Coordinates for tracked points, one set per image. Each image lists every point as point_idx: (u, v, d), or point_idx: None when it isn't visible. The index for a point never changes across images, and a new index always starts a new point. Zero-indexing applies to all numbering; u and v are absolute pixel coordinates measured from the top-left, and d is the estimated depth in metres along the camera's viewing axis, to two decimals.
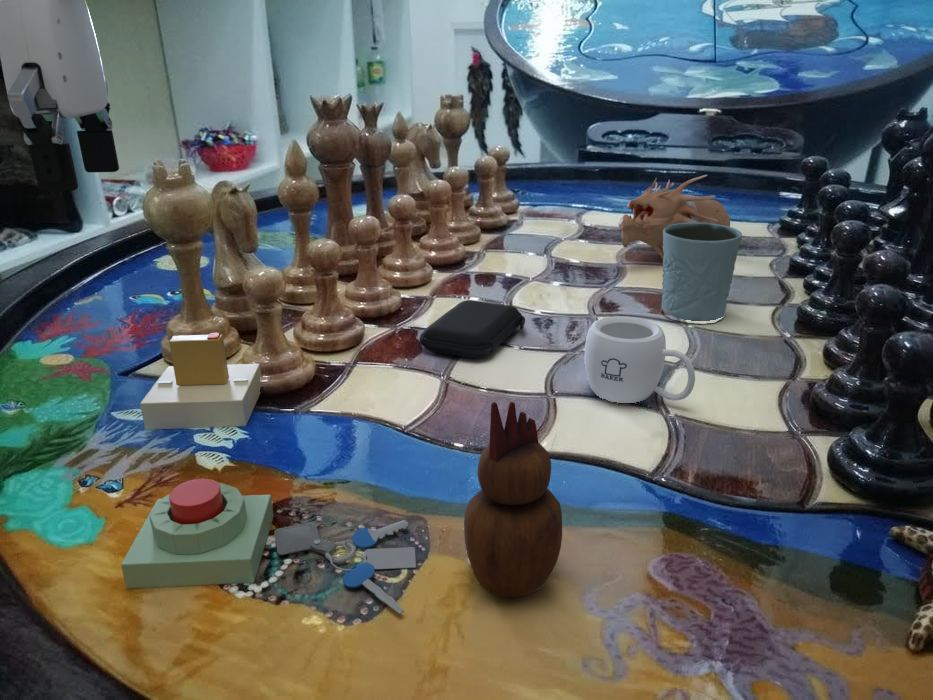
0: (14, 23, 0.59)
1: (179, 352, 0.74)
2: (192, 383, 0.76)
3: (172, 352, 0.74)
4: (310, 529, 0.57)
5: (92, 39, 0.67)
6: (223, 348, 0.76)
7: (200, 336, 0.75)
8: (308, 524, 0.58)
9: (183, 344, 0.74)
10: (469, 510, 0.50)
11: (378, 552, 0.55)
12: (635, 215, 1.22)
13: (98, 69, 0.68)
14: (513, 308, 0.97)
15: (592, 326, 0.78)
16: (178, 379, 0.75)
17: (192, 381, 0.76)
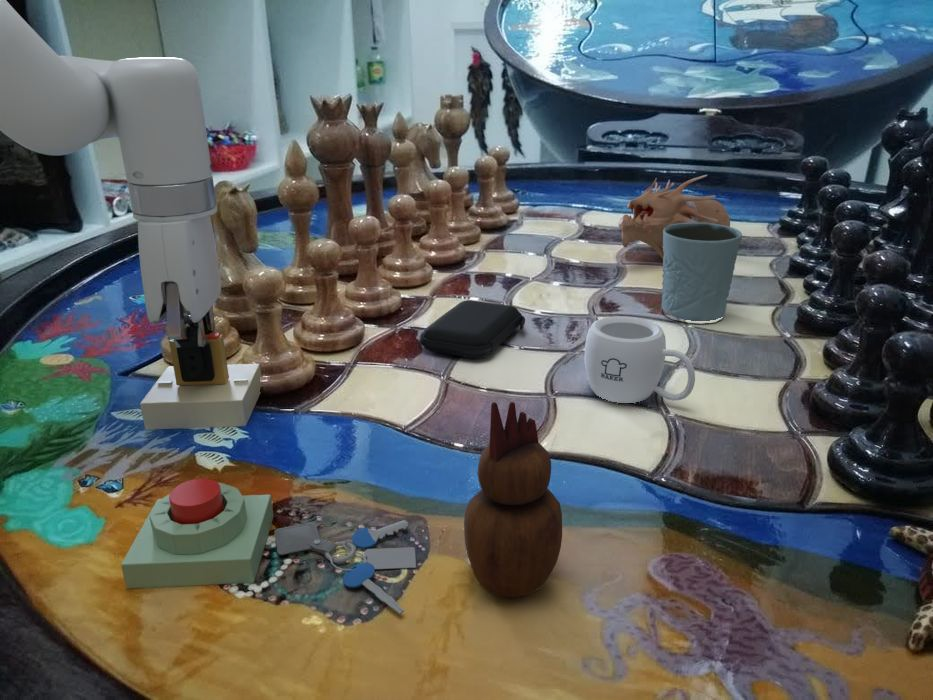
0: (156, 249, 0.66)
1: None
2: (192, 383, 0.76)
3: (172, 352, 0.74)
4: (310, 529, 0.57)
5: (213, 241, 0.74)
6: (223, 348, 0.76)
7: None
8: (308, 524, 0.58)
9: None
10: (469, 510, 0.50)
11: (378, 552, 0.55)
12: (635, 215, 1.22)
13: (216, 265, 0.75)
14: (513, 308, 0.97)
15: (592, 326, 0.78)
16: (178, 379, 0.75)
17: None
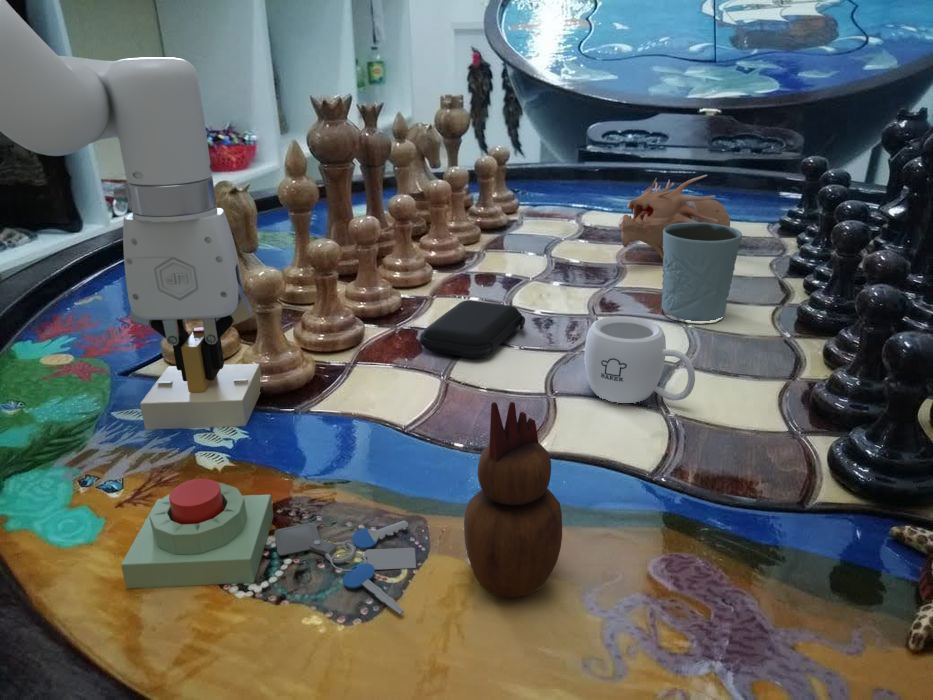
0: (229, 236, 0.70)
1: (201, 355, 0.74)
2: (208, 383, 0.76)
3: (199, 357, 0.73)
4: (310, 530, 0.57)
5: None
6: None
7: (194, 336, 0.75)
8: (308, 525, 0.58)
9: None
10: (469, 510, 0.50)
11: (378, 552, 0.55)
12: (635, 215, 1.22)
13: None
14: (513, 308, 0.97)
15: (592, 326, 0.78)
16: (204, 384, 0.74)
17: (208, 381, 0.76)
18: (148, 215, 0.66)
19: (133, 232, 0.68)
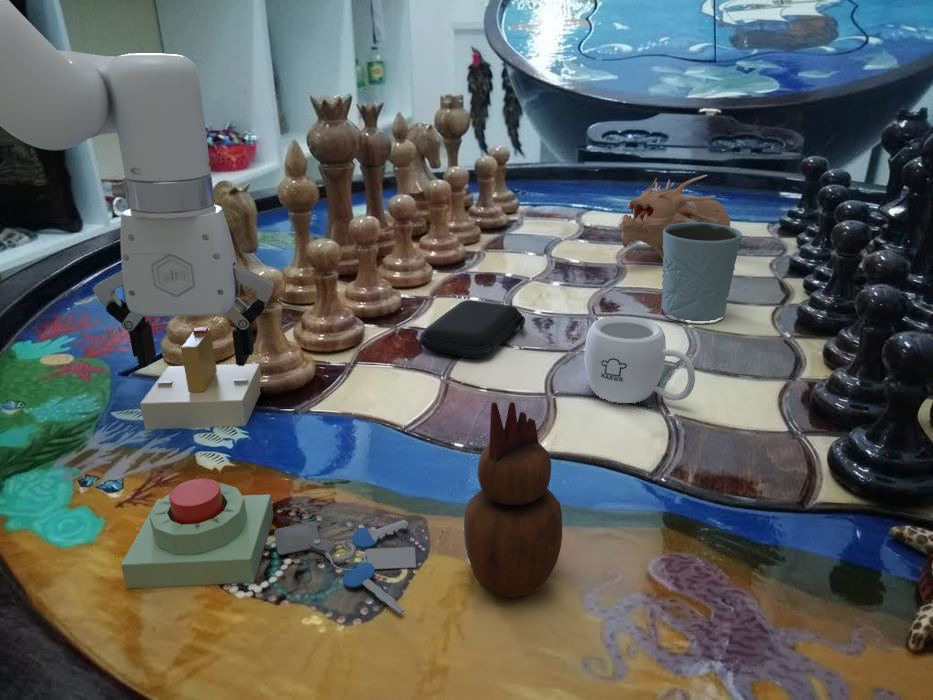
0: (226, 234, 0.70)
1: (201, 355, 0.74)
2: (208, 383, 0.76)
3: (199, 357, 0.73)
4: (310, 529, 0.57)
5: None
6: None
7: (194, 336, 0.75)
8: (308, 524, 0.58)
9: (201, 345, 0.74)
10: (469, 510, 0.50)
11: (378, 551, 0.55)
12: (635, 215, 1.22)
13: None
14: (513, 308, 0.97)
15: (592, 326, 0.78)
16: (204, 384, 0.74)
17: (208, 381, 0.76)
18: (146, 211, 0.66)
19: (130, 228, 0.67)
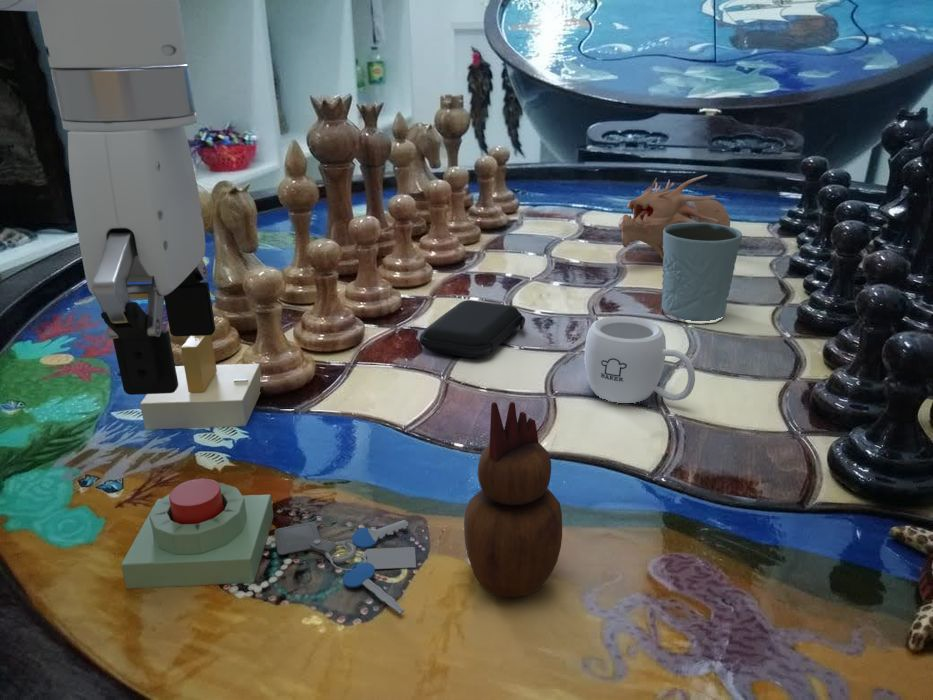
0: (98, 175, 0.41)
1: (201, 355, 0.74)
2: (208, 383, 0.76)
3: (199, 357, 0.73)
4: (310, 529, 0.57)
5: (192, 173, 0.48)
6: None
7: (194, 336, 0.75)
8: (308, 524, 0.58)
9: (201, 345, 0.74)
10: (469, 510, 0.50)
11: (378, 552, 0.55)
12: (635, 215, 1.22)
13: (198, 211, 0.50)
14: (513, 308, 0.97)
15: (592, 326, 0.78)
16: (204, 384, 0.74)
17: (208, 381, 0.76)
18: None
19: None
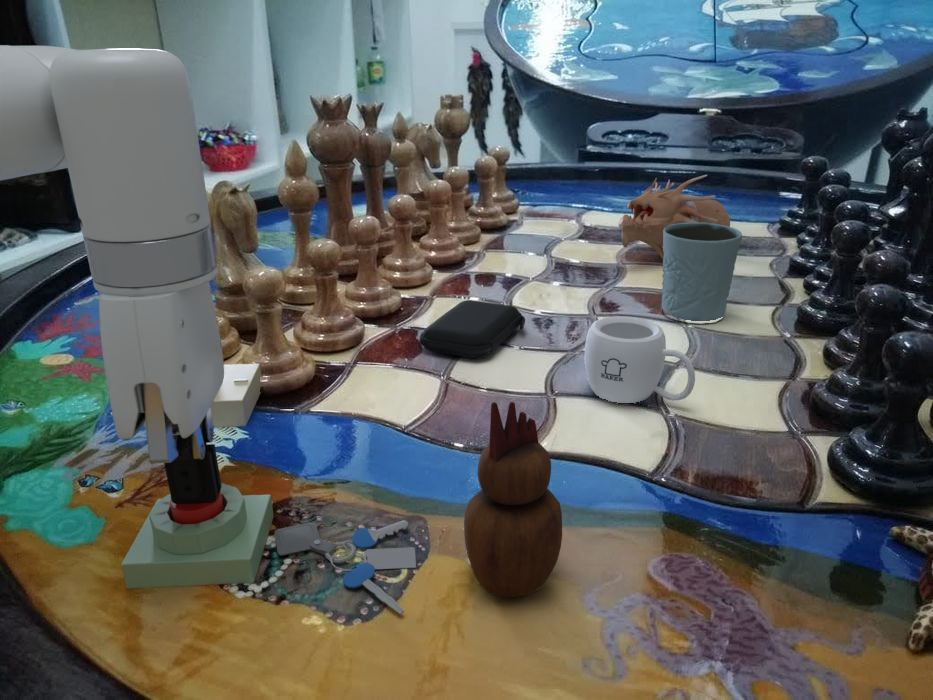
0: (127, 337, 0.44)
1: None
2: None
3: None
4: (310, 529, 0.57)
5: (212, 312, 0.51)
6: None
7: None
8: (308, 524, 0.58)
9: None
10: (469, 510, 0.50)
11: (378, 552, 0.55)
12: (635, 215, 1.22)
13: (217, 345, 0.53)
14: (513, 308, 0.97)
15: (592, 326, 0.78)
16: None
17: None
18: None
19: None
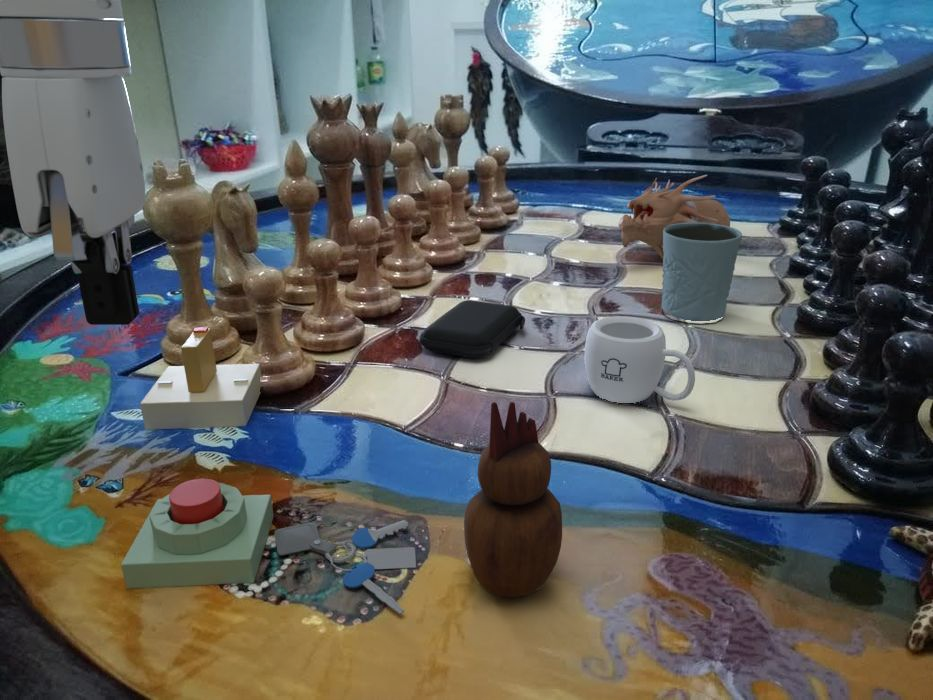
0: (29, 118, 0.44)
1: (201, 355, 0.74)
2: (208, 383, 0.76)
3: (199, 357, 0.73)
4: (310, 529, 0.57)
5: (130, 126, 0.51)
6: None
7: (194, 336, 0.75)
8: (308, 524, 0.58)
9: (201, 345, 0.74)
10: (469, 510, 0.50)
11: (378, 552, 0.55)
12: (635, 215, 1.22)
13: (136, 163, 0.52)
14: (513, 308, 0.97)
15: (592, 326, 0.78)
16: (204, 384, 0.74)
17: (208, 381, 0.76)
18: None
19: None
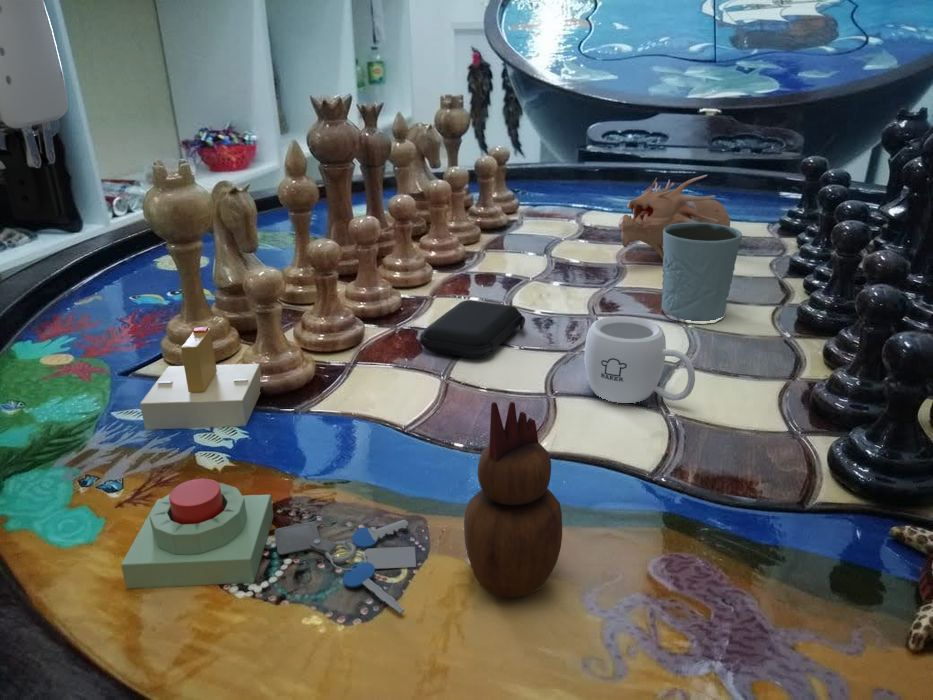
0: None
1: (201, 355, 0.74)
2: (208, 383, 0.76)
3: (199, 357, 0.73)
4: (310, 529, 0.57)
5: (47, 32, 0.55)
6: None
7: (194, 336, 0.75)
8: (308, 524, 0.58)
9: (201, 345, 0.74)
10: (469, 510, 0.50)
11: (378, 551, 0.55)
12: (635, 215, 1.22)
13: (55, 68, 0.57)
14: (513, 308, 0.97)
15: (592, 326, 0.78)
16: (204, 384, 0.74)
17: (208, 381, 0.76)
18: None
19: None
